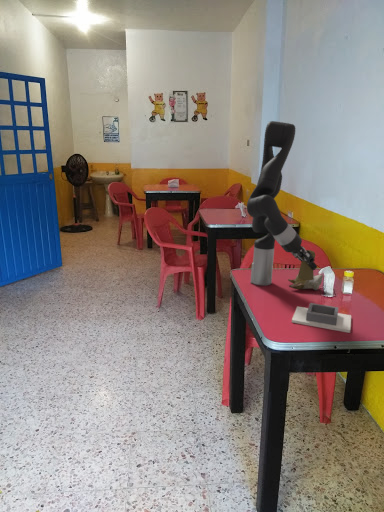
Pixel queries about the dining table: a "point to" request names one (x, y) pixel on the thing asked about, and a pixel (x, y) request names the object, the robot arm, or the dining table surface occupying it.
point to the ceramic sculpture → (306, 283)
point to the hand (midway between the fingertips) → (311, 266)
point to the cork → (306, 269)
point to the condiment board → (322, 317)
